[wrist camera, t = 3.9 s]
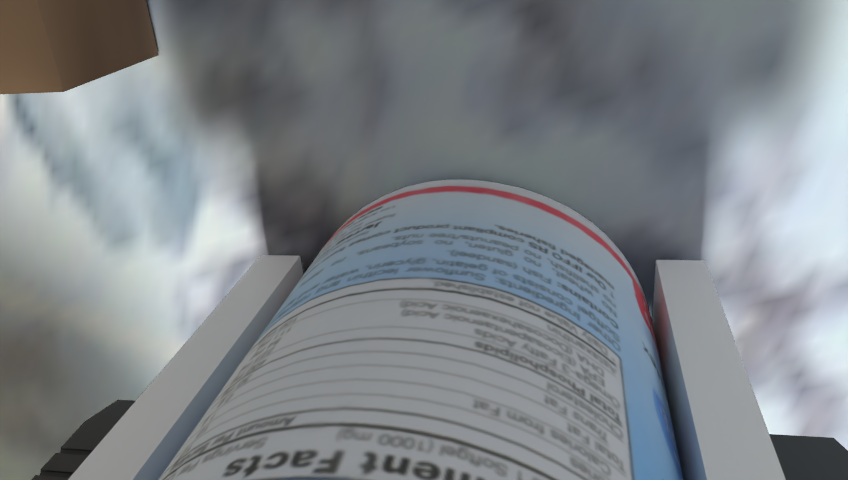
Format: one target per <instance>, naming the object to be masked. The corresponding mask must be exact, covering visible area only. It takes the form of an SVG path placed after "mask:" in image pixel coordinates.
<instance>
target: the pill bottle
mask: <svg viewBox="0 0 848 480" xmlns="http://www.w3.org/2000/svg"><path fill="white" fill-rule="evenodd" d="M158 480H684V479H683V474H682V469H681V463H680V458H679V453H678V448H677V444H676V439H675V434H674V429H673V424H672V419H671V414H670V408H669V403H668V398H667V393H666V389H665V384H664V379H663V374H662V369H661V364H660V358H659V352H658V346H657V343H656V338H655V333H654V328H653V323H652V319H651V316H650V312H649V307H648V304H647V301H646V298H645V295H644V292H643V289H642V287H641V285H640V283H639V281H638V278H637V276H636V274H635V273H634V271H633V269H632V267H631V266H630V264H629V262H628V261H627V260H626V258H625V257H624V255H623V254H622V253H621V251H620V250H619V249H618V247H617V246H616V245H615V244H614V243H613V242H612V241H611V240H610V238H609V237H608V236H607V235H606V234H605V233H604V232H602V231H601V230H600V229H599V228H598V227H597V226H595V225H594V224H593V223H592V222H591V221H589V220H588V219H586V218H585V217H583V216H582V215H580V214H579V213H577V212H576V211H574V210H573V209H571V208H569V207H567V206H565V205H563V204H561V203H559V202H557V201H555V200H552V199H550V198H548V197H546V196H543V195H541V194H538V193H535V192H532V191H529V190H526V189H523V188H520V187H515V186H510V185H505V184H500V183H495V182H488V181H479V180H464V179H448V180H437V181H430V182H424V183H419V184H415V185H411V186H406V187H404V188H401V189H398V190H396V191H393V192H391V193H389V194H386V195H384V196H382V197H380V198H379V199H377V200H375V201H373V202H371V203H370V204H368V205H366V206H364V207H363V208H362V209H361V210H359V211H358V212H357V213H355V214H354V215H353V216H351V217H350V218H349V219H348V220H347V221H346V222H345V223H344V224H343V225H342V226H341V227H340V228H339V229H338V230H337V231H336V232H335V233H334V235H333V236H332V237H331V238H330V240H329V241H328V242H327V243H326V244H325V246H324V247H323V248H322V250H321V251H320V252H319V254H318V255H317V257H316V258H315V259H314V261H313V262H312V264H311V265H310V266H309V268H308V269H307V271H306V272H305V274H304V275H303V276H302V278H301V279H300V281H299V282H298V284H297V285H296V286H295V288H294V289H293V290H292V292H291V293H290V295H289V296H288V298H287V299H286V300H285V302H284V303H283V305H282V306H281V307H280V309H279V310H278V312H277V313H276V314H275V316H274V317H273V319H272V320H271V321H270V323H269V324H268V326H267V327H266V328H265V330H264V331H263V332H262V334H261V335H260V337H259V338H258V340H257V341H256V342H255V344H254V345H253V347H252V348H251V349H250V351H249V352H248V353H247V355H246V356H245V358H244V359H243V361H242V362H241V363H240V364H239V366H238V367H237V368H236V370H235V371H234V373H233V375H232V376H231V377H230V379H229V380H228V382H227V383H226V385H225V386H224V387H223V389H222V390H221V392H220V393H219V395H218V396H217V397H216V399H215V400H214V402H213V403H212V405H211V406H210V407H209V409H208V410H207V412H206V413H205V415H204V416H203V417H202V419H201V420H200V422H199V423H198V425H197V426H196V427H195V429H194V430H193V432H192V433H191V434H190V436H189V437H188V439H187V440H186V441H185V443H184V444H183V446H182V447H181V448H180V450H179V451H178V453H177V454H176V455H175V457H174V458H173V460H172V461H171V462H170V464H169V465H168V467H167V468H166V469H165V471H164V472H163V474H162V475H161V476H160V478H159V479H158Z"/></svg>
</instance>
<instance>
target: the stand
mask: <svg viewBox="0 0 848 480" xmlns="http://www.w3.org/2000/svg"><path fill="white" fill-rule="evenodd" d="M157 55H158V51H157V46H156V42H155V38H154V33H153V29H152V25H151V20H150V16H149V12H148V7H147V3H146V0H0V94H19V93H44V92H64V91H67V90H70V89H72V88H75V87H77V86H80V85H82V84H85V83H88V82H90V81H93V80H95V79H98V78H101V77H103V76H106V75H108V74H111V73H113V72H116V71H119V70H121V69H124V68H126V67H129V66H131V65H134V64H137V63H139V62H142V61H144V60H147V59H150V58H152V57H155V56H157Z"/></svg>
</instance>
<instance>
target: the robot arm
mask: <svg viewBox="0 0 848 480" xmlns="http://www.w3.org/2000/svg"><path fill="white" fill-rule="evenodd" d="M302 276H303V269H302V263H301V257H300V256H285V255H261V256H260V257H259V258H258V259H257V260H256V261H255V263H254V264H253V265H252V266H251V267H250V268H249V270H248V271H247V272H246V273H245V274H244V275H243V277H242V278H241V279H240V280H239V281H238V282H237V284H236V285H235V286H234V287H233V288H232V289H231V291H230V292H229V293H228V294H227V295H226V296H225V298H224V299H223V300H222V301H221V302H220V303H219V305H218V306H217V307H216V308H215V309H214V310H213V312H212V313H211V314H210V315H209V316H208V317H207V319H206V320H205V321H204V322H203V323H202V324H201V325H200V327H199V328H198V329H197V330H196V331H195V332H194V334H193V335H192V336H191V337H190V338H189V339H188V341H187V342H186V343H185V344H184V345H183V346H182V348H181V349H180V350H179V351H178V352H177V353H176V355H175V356H174V357H173V358H172V359H171V360H170V362H169V363H168V364H167V365H166V366H165V367H164V369H163V370H162V371H161V372H160V373H159V374H158V376H157V377H156V378H155V379H154V380H153V381H152V383H151V384H150V385H149V386H148V387H147V388H146V389H145V391H144V392H143V393H142V394H141V395H140V396H139V398H138V399H137V400H136V401H129V400H117V401H115V402H114V403H112V404H111V405H109V406H108V407H106V408H105V409H103V410H102V411H100V412H99V413H97V414H96V415H94V416H93V417H91V418H90V419H88V420H87V421H85V422H84V423H83V424H82V425H81V426H80V427H79V429H78V430H77V431H76V432H75V433H74V434H73V435H72V436H71V437H70V438H69V439H68V441H67V442H66V443H65V444H64V445H63V446H62V447H61V452H60V453H56V454H55V455H54V456H53V457H52V458H51V459H50V460H49V461H48V462H47V463H46V464H45V465H44V467H43V468H42V469H41V473H40V475H35V476H34V477H33V478H32V480H158V479H159V478H160V476H161V475H162V474H163V472H164V471H165V469H166V468H167V467H168V465H169V464H170V462H171V461H172V460H173V458H174V457H175V455H176V454H177V453H178V451H179V450H180V448H181V447H182V446H183V444H184V443H185V441H186V440H187V439H188V437H189V436H190V434H191V433H192V432H193V430H194V429H195V427H196V426H197V425H198V423H199V422H200V420H201V419H202V417H203V416H204V415H205V413H206V412H207V410H208V409H209V407H210V406H211V405H212V403H213V402H214V400H215V399H216V397H217V396H218V395H219V393H220V392H221V390H222V389H223V387H224V386H225V385H226V383H227V382H228V380H229V379H230V377H231V376H232V375H233V373H234V371H235V370H236V368H237V367H238V366H239V364H240V363H241V362H242V361H243V359H244V358H245V356H246V355H247V353H248V352H249V351H250V349H251V348H252V347H253V345H254V344H255V342H256V341H257V340H258V338H259V337H260V335H261V334H262V332H263V331H264V330H265V328H266V327H267V326H268V324H269V323H270V321H271V320H272V319H273V317H274V316H275V314H276V313H277V312H278V310H279V309H280V307H281V306H282V305H283V303H284V302H285V300H286V299H287V298H288V296H289V295H290V293H291V292H292V290H293V289H294V288H295V286H296V285H297V284H298V282H299V281H300V279H301V278H302ZM652 323H653V328H654V333H655V338H656V343H657V346H658V352H659V358H660V364H661V369H662V374H663V379H664V384H665V389H666V393H667V398H668V403H669V408H670V414H671V419H672V424H673V429H674V434H675V439H676V444H677V448H678V453H679V458H680V463H681V469H682V474H683V479H684V480H848V451H847V450H846V449H845V448H844V447H843V446H842V445H841V444H840V443H839V442H837V441H836V440H835V439H834V438H826V437H808V436H790V435H772V434H769V433H768V430H767V427H766V424H765V422H764V419H763V416H762V414H761V411H760V408H759V405H758V403H757V400H756V397H755V395H754V392H753V389H752V386H751V384H750V381H749V378H748V375H747V373H746V370H745V367H744V365H743V362H742V359H741V356H740V354H739V351H738V348H737V346H736V343H735V340H734V337H733V335H732V332H731V329H730V326H729V324H728V321H727V318H726V316H725V313H724V310H723V307H722V305H721V302H720V299H719V297H718V294H717V291H716V288H715V286H714V283H713V280H712V277H711V275H710V272H709V269H708V267H707V264H706V261H705V260H656V267H655V283H654V298H653V314H652Z"/></svg>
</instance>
